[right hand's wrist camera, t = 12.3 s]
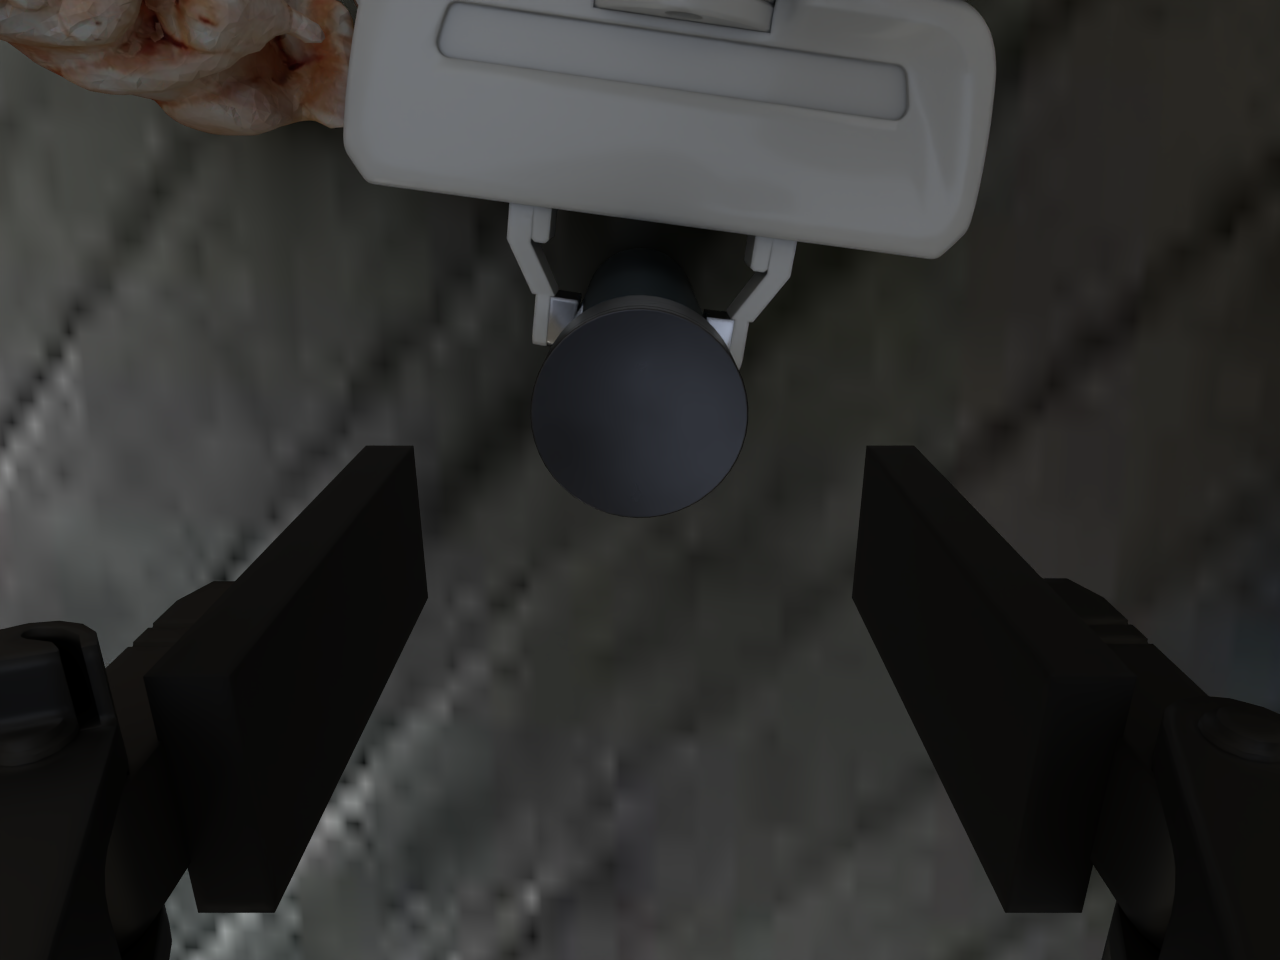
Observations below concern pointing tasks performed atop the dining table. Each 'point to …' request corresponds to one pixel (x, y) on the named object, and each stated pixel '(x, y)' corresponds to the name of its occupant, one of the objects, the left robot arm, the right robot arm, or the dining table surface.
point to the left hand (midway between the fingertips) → (637, 354)
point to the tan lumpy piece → (197, 56)
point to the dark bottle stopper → (639, 407)
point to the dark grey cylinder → (639, 279)
